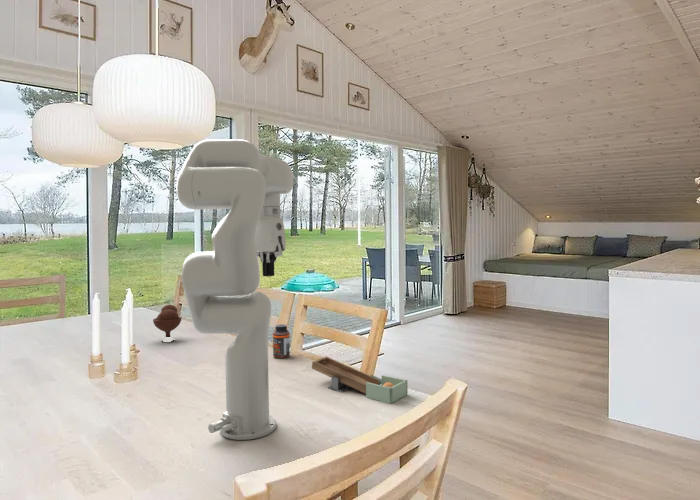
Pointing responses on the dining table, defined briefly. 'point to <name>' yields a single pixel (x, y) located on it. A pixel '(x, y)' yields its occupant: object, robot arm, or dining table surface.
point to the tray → (387, 390)
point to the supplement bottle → (281, 342)
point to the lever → (345, 373)
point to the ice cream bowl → (167, 319)
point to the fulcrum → (338, 385)
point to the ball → (388, 384)
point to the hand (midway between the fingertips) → (268, 275)
